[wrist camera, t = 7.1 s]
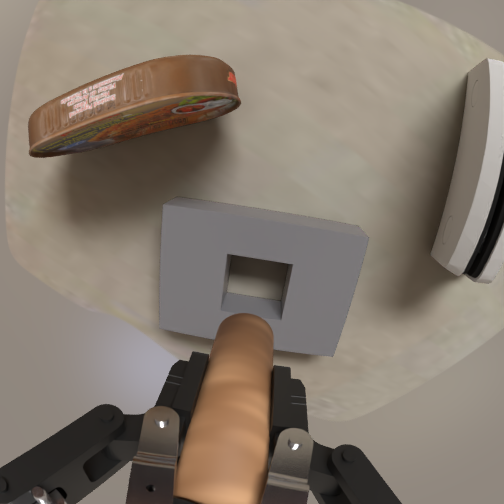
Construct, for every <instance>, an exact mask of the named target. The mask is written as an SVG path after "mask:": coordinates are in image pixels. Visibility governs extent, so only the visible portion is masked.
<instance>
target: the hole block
mask: <svg viewBox="0 0 504 504" xmlns="http://www.w3.org/2000/svg"><path fill="white" fill-rule="evenodd" d="M368 240H369V237H368V236H367V235H366V233H365V232H364V231H363V230H362V229H361V228H360V227H359V226H357V225H351V224H346V223H341V222H335V221H330V220H324V219H319V218H313V217H307V216H301V215H295V214H290V213H284V212H277V211H271V210H265V209H259V208H252V207H246V206H239V205H233V204H226V203H219V202H212V201H205V200H197V199H190V198H182V197H175V198H173V199H172V200H170V201H168V202H167V203H165V204H163V213H162V230H161V252H160V293H159V325H160V329H165V330H169V331H174V332H178V333H183V334H188V335H193V336H198V337H203V338H208V339H213V340H215V337H216V334H217V331H218V328H219V326H220V324H221V323H222V321H223V320H224V319H226V318H227V317H229V316H231V315H234V314H238V313H249V314H254V315H257V316H259V317H261V318H262V319H264V320H265V321H266V322H267V323H268V324H269V325H270V327H271V329H272V331H273V335H274V345H273V349H274V350H281V351H288V352H296V353H304V354H312V355H321V356H331V357H333V356H334V353H335V350H336V347H337V344H338V341H339V338H340V335H341V333H342V330H343V326H344V323H345V320H346V317H347V314H348V311H349V308H350V305H351V301H352V298H353V295H354V291H355V288H356V284H357V281H358V278H359V274H360V270H361V267H362V263H363V259H364V256H365V252H366V248H367V244H368ZM231 254H232V255H238V256H244V257H250V258H257V259H263V260H269V261H275V262H281V263H288V264H289V265H288V271H287V276H286V280H285V285H284V290H283V295H282V300H281V301H277V300H271V299H264V298H258V297H252V296H246V295H240V294H234V293H228V292H227V286H228V278H229V270H230V262H231Z"/></svg>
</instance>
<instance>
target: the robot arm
mask: <svg viewBox="0 0 504 504" xmlns="http://www.w3.org/2000/svg"><path fill="white" fill-rule="evenodd" d="M208 362H209V354H204V353H199V352H194V351H193V352H192V355H191V357H190V360H189V362H188V361H183V360H179V361H178V362H176V363H175V364H174V365H173V366H172V367H171V370H170V372H169V375H168V377H167V379H166V382H165V384H164V386H163V388H162V391H161V393H160V395H159V398H158V400H157V402H156V405H155V406H154V407H153V408H151V409H149V410H148V411H147V412H146V413H144V414H140V415H125V414H123V413H122V411H121V410H120V409H119V408H118V407H116V406H113V405H110V404H103V405H99V406H97V407H95V408H94V409H92V410H91V411H89V412H88V413H86V414H85V415H83V416H82V417H80V418H79V419H77V420H76V421H74V422H72V423H71V424H70V425H68V426H66V427H65V428H63V429H62V430H60V431H59V432H57V433H56V434H54V435H52V436H51V437H49V438H48V439H46V440H45V441H43V442H42V443H40V444H38V445H37V446H35V447H34V448H32V449H31V450H29V451H27V452H26V453H24V454H22V455H21V456H19V457H17V458H16V459H14V460H13V461H11V462H9V463H8V464H6V465H4V466H3V467H1V468H0V504H76V503H78V502H79V501H80V500H82V499H83V498H84V497H86V496H87V495H88V494H89V493H91V492H92V491H93V490H95V489H96V488H97V487H98V486H100V485H101V484H102V483H104V482H105V481H106V480H107V479H108V478H110V477H111V476H112V475H113V474H115V473H116V472H117V471H118V470H120V469H121V468H122V467H123V466H125V465H126V464H127V463H128V462H129V461H132V466H131V472H130V478H129V484H128V491H127V497H126V504H194V503H191V502H189V501H186V500H182V499H177V498H174V493H175V489H176V477H177V464H178V461H179V458H180V454H181V451H182V447H183V444H184V441H185V437H186V434H187V430H188V427H189V424H190V423H191V419H192V416H193V412H194V409H195V406H196V402H197V399H198V395H199V392H200V389H201V385H202V382H203V379H204V375H205V372H206V369H207V365H208ZM269 437H270V442H269V460H268V474H267V478H266V481H265V484H264V488H263V492H262V495H261V499H260V502H259V504H307V500H308V494H309V490H311V491H312V493H313V494H314V496H315V498H316V499H317V501H318V503H319V504H402V503H401V502H400V501H399V499H398V498H397V497H396V496H395V494H394V493H393V491H392V490H391V489H390V488H389V486H388V485H387V484H386V483H385V481H384V480H383V478H382V477H381V476H380V474H379V473H378V472H377V470H376V469H375V468H374V466H373V465H372V464H371V462H370V461H369V460H368V459H367V457H366V456H365V455H364V453H363V452H362V451H361V450H360V449H359V448H357V447H355V446H353V445H346V444H345V445H341V446H338V447H337V448H335V449H332V448H329V447H326V446H323V445H320V444H318V443H317V442H315V441H314V440H313V439H312V437H311V435H310V434H309V432H308V420H307V406H306V393H305V387H304V385H303V384H302V382H301V380H299V379H291V370H290V367H284V366H276V365H274V367H273V370H272V386H271V409H270V430H269Z"/></svg>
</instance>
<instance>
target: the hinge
mask: <svg viewBox="0 0 504 504" xmlns="http://www.w3.org/2000/svg"><path fill="white" fill-rule="evenodd" d="M430 255H431V256H432V257H433V258H434V259H435V260H436V261H438V262H439V263H440V264H441V265H442V266H443V267H444V268H446V269H447V270H449V271H450V272H452V273H453V274H455V275H457V276H460V275H461V274H464V275H466V276H467V277H468V278H470V279H471V280H472V281H474V282H478V283H487V284H489V283H491V282H492V281H493V280H494V278H495V277H496V275H497V273H498V271H499V270H500V268H501V266H502V264H503V262H504V63H503V62H502V61H498V60H493V59H488V58H486V59H485V60H483V61H482V62H481V63H479V64H478V65H477V66H476V67H474V68H473V69H472V70H470V71H469V72H468V80H467V91H466V100H465V108H464V115H463V122H462V129H461V135H460V141H459V146H458V152H457V157H456V162H455V166H454V171H453V175H452V180H451V184H450V188H449V192H448V196H447V200H446V204H445V208H444V211H443V215H442V218H441V222H440V225H439V229H438V232H437V235H436V238H435V242H434V245H433V248H432V251H431V254H430Z"/></svg>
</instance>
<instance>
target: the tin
mask: <svg viewBox="0 0 504 504" xmlns="http://www.w3.org/2000/svg"><path fill="white" fill-rule="evenodd" d="M240 104H241V100H240V99H239V97H238V92H237V85H236V78H235V73H234V71H233V69H232V68H231V67H230V66H229V65H227V64H226V63H225V62H223V61H222V60H220V59H217V58H214V57H209V56H202V55H178V56H170V57H164V58H158V59H153V60H149V61H146V62H143V63H140V64H136V65H133V66H131V67H128V68H125V69H122V70H119V71H117V72H114V73H111V74H109V75H106V76H104V77H101V78H99V79H96V80H94V81H91V82H89V83H87V84H84V85H82V86H80V87H78V88H76V89H73V90H71V91H69V92H67V93H65V94H63V95H61V96H59V97H57V98H55V99H53V100H51V101H49V102H47V103H45V104H44V105H42V106H41V107H39V108H38V109H37V110H35V111H34V112H33V114H32V115H31V116H30V118H29V122H28V131H29V145H30V150H29V155H30V156H32V157H36V158H38V157H39V158H45V157H54V156H61V155H67V154H73V153H79V152H84V151H89V150H93V149H97V148H101V147H104V146H108V145H111V144H115V143H118V142H121V141H125V140H128V139H132V138H135V137H139V136H143V135H147V134H150V133H154V132H158V131H162V130H166V129H171V128H175V127H179V126H184V125H188V124H193V123H197V122H201V121H205V120H209V119H212V118H216V117H219V116H222V115H225V114H227V113H229V112H232V111H233V110H235V109H237V108H238V107H239V106H240Z"/></svg>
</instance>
